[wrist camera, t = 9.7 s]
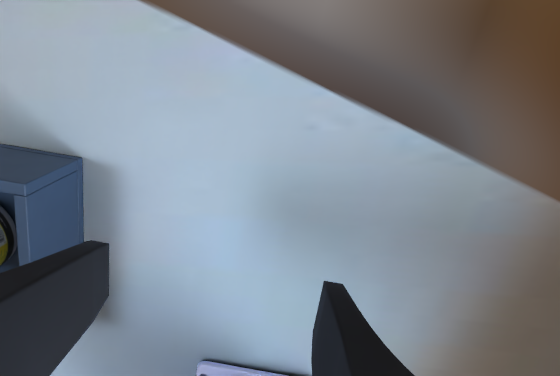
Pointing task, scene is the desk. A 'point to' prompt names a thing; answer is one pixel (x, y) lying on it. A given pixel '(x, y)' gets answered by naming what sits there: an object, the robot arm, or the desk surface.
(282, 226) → the desk surface
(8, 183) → the desk bin
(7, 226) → the supplement bottle
